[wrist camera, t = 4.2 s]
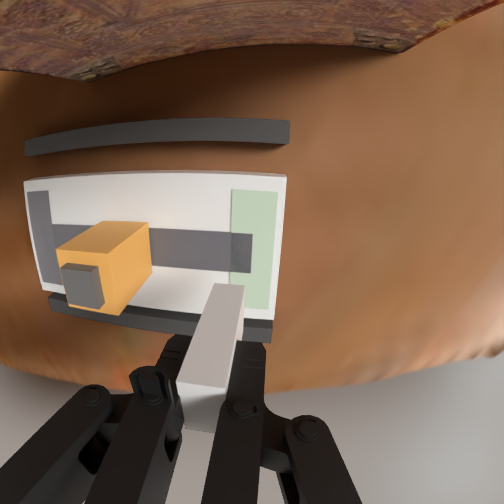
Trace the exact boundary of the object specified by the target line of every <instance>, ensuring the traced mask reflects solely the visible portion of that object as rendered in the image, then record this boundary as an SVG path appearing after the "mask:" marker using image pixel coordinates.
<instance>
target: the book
mask: <svg viewBox="0 0 504 504" xmlns="http://www.w3.org/2000/svg"><path fill="white" fill-rule="evenodd" d="M501 3H504V0H0V70H4V71H16V72H25V73H34V74H41V75H48V76H55V77H61V78H67V79H73V80H78V81H83V82H90V81H93V80H96V79H99V78H102V77H104V76H107V75H110V74H113V73H116V72H120V71H123V70H126V69H130V68H133V67H136V66H140V65H144V64H148V63H152V62H156V61H160V60H164V59H168V58H173V57H178V56H183V55H188V54H194V53H200V52H206V51H212V50H220V49H228V48H237V47H248V46H262V45H287V44H309V45H334V46H347V47H358V48H367V49H375V50H382V51H388V52H394V53H402V52H405V51H407V50H408V49H410V48H412V47H414V46H415V45H417V44H419V43H421V42H423V41H424V40H426V39H428V38H430V37H432V36H434V35H435V34H437V33H439V32H441V31H443V30H445V29H447V28H449V27H451V26H453V25H455V24H457V23H459V22H461V21H463V20H465V19H467V18H469V17H471V16H474V15H476V14H478V13H480V12H482V11H485V10H487V9H489V8H492V7H494V6H496V5H499V4H501Z"/></svg>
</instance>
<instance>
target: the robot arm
mask: <svg viewBox="0 0 504 504" xmlns="http://www.w3.org/2000/svg"><path fill="white" fill-rule="evenodd" d="M244 299H245V285H233V284H221V283H214V285H213V287H212V290H211V292H210V295H209V297H208V300H207V302H206V305H205V307H204V310H203V312H202V315H201V317H200V320H199V322H198V325H197V328H196V330H195V333H194V335H193V336H188V335H181V334H175V335H174V336H173V337H171V338H170V339H169V340H168V341H167V343H166V345H165V347H164V349H163V351H162V353H161V355H160V358H159V359H158V361H157V363H156V365H155V366H143V367H139V368H137V369H136V370H134V371H132V373H131V374H130V375H129V379H130V382H131V385H132V388H133V391H134V393H132V394H121V395H120V394H116V395H115V394H114V395H112V394H110V393H109V391H108V390H107V389H106V388H105V387H104V386H101V385H92V384H91V385H88V386H85V387H83V388H82V389H80V390H79V391H78V392H77V393H76V394H75V395H74V396H73V397H72V398H71V399H70V400H69V401H68V402H66V403H65V405H64V406H62V408H60V409H59V410H58V411H57V412H56V413H55V414H54V415H53V416H52V417H51V418H50V419H49V420H48V421H47V422H46V423H45V424H44V425H43V426H42V427H41V428H40V429H39V430H38V431H37V432H36V433H35V434H34V435H33V436H32V437H31V438H30V439H29V440H28V441H27V442H26V443H25V444H24V445H23V446H22V447H21V448H20V449H19V450H18V451H17V452H16V453H15V454H14V455H13V456H12V457H11V458H10V459H9V460H8V461H7V462H6V463H5V464H4V465H3V466H2V467H1V468H0V504H82V503H83V502H84V501H85V503H84V504H165V501H166V498H167V494H168V490H169V486H170V483H171V479H172V475H173V472H174V468H175V465H176V460H177V457H178V454H179V450H180V446H181V443H182V433H181V429H182V427H183V423H184V425H185V429H190V430H196V431H203V432H209V433H215V436H214V441H213V447H212V451H211V456H210V461H209V466H208V471H207V477H206V481H205V486H204V491H203V496H202V501H201V504H257V496H258V484H259V472H260V466H261V467H264V468H267V469H270V470H273V471H276V474H277V478H278V481H279V485H280V488H281V492H282V496H283V499H284V503H285V504H362V502H361V500H360V497H359V495H358V493H357V491H356V488H355V486H354V484H353V482H352V479H351V477H350V475H349V473H348V470H347V468H346V466H345V464H344V461H343V459H342V457H341V455H340V452H339V450H338V448H337V446H336V443H335V441H334V439H333V437H332V434H331V432H330V430H329V428H328V426H327V425H326V423H325V422H324V421H323V420H321V419H320V418H318V417H315V416H311V415H301V416H298V417H295V418H293V419H292V420H290V419H287V418H283V417H280V416H278V415H276V414H274V413H272V412H271V411H270V410H269V409H268V408H267V407H266V405H265V403H264V383H265V364H266V350H265V348H264V346H263V344H262V342H253V341H242V335H243V322H244Z"/></svg>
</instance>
